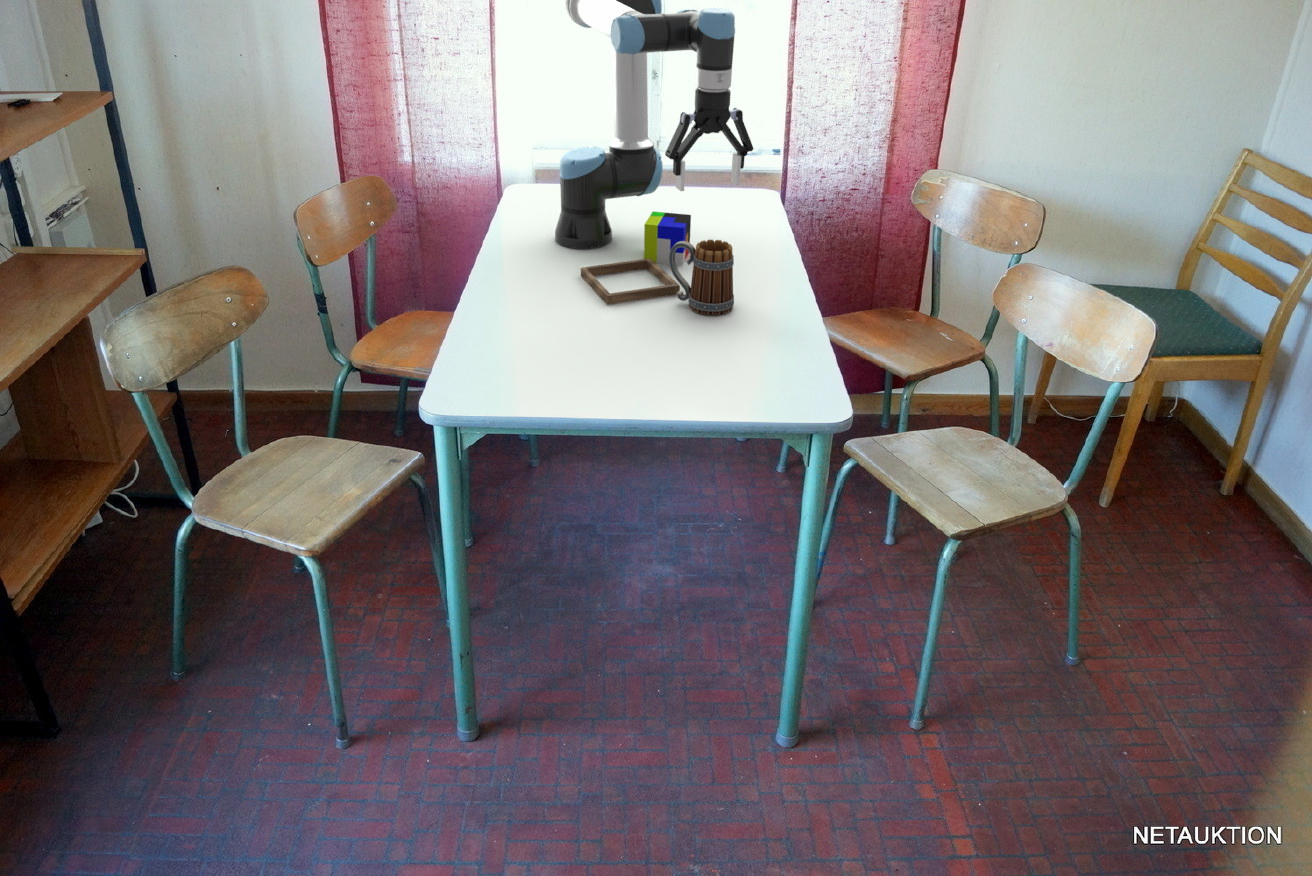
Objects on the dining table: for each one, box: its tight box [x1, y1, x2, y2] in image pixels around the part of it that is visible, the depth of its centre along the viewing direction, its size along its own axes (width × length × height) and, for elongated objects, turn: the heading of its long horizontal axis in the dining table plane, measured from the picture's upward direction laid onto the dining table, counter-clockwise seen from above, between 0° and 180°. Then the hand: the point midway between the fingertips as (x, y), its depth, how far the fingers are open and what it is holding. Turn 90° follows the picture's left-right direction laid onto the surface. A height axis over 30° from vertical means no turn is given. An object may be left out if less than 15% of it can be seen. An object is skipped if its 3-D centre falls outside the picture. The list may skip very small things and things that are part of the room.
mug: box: [668, 239, 735, 317], centre depth 233 cm, size 16×11×15 cm
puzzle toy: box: [643, 211, 692, 267], centre depth 261 cm, size 10×10×10 cm
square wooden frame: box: [580, 258, 681, 306], centre depth 246 cm, size 18×18×2 cm
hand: (707, 186), depth 228 cm, fingers open, 13 cm apart
